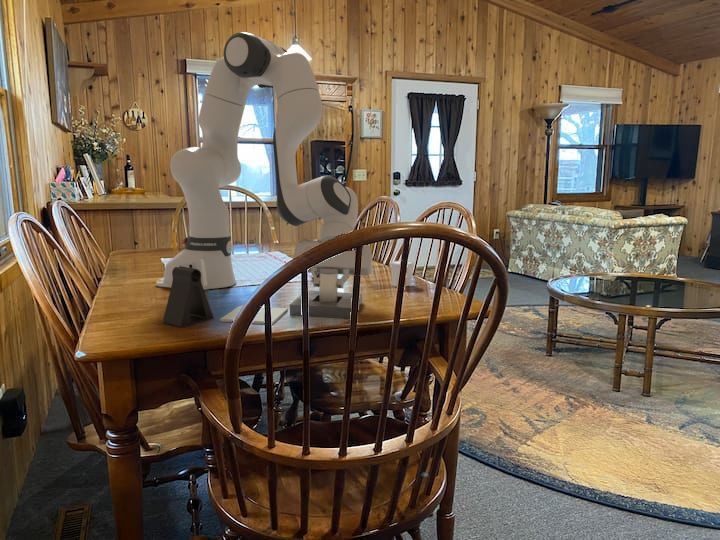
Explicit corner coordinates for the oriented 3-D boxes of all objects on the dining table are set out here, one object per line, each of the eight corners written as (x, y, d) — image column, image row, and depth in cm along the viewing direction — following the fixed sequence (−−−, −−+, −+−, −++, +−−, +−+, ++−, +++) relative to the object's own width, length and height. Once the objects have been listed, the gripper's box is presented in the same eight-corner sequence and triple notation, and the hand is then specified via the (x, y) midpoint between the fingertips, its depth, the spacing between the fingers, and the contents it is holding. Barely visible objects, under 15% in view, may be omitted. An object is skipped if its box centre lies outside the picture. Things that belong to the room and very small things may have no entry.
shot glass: (411, 288, 155) (412, 264, 154) (388, 286, 156) (389, 263, 155) (414, 283, 161) (414, 261, 160) (391, 282, 163) (392, 259, 161)
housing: (289, 314, 124) (289, 304, 123) (305, 299, 138) (305, 290, 138) (352, 318, 122) (353, 308, 121) (362, 303, 136) (362, 293, 136)
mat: (220, 321, 117) (220, 318, 117) (240, 307, 129) (240, 305, 129) (272, 324, 116) (272, 322, 115) (287, 310, 127) (287, 308, 127)
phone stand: (180, 328, 112) (178, 272, 110) (162, 323, 115) (159, 269, 113) (213, 318, 119) (211, 266, 117) (195, 314, 123) (193, 263, 120)
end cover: (317, 306, 128) (317, 270, 126) (321, 302, 132) (321, 267, 130) (335, 308, 127) (335, 271, 126) (338, 303, 132) (339, 268, 130)
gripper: (294, 231, 135) (283, 276, 127) (374, 235, 132) (368, 281, 124) (299, 246, 140) (289, 290, 132) (375, 250, 137) (369, 295, 129)
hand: (328, 286), depth 128 cm, fingers closed on end cover, 4 cm apart
